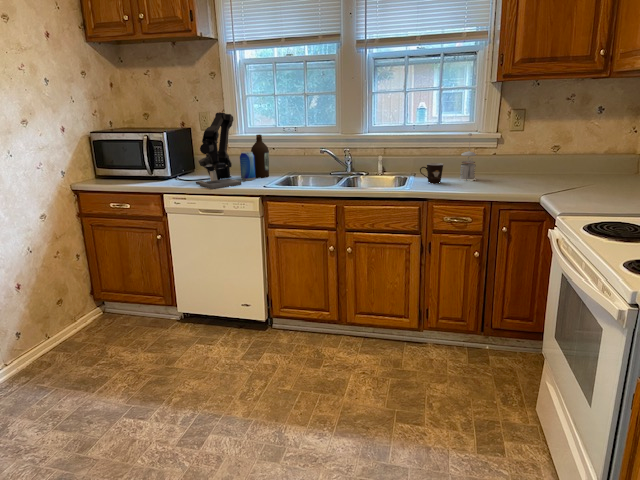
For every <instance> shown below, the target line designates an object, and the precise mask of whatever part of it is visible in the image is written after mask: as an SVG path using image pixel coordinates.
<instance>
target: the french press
mask: <svg viewBox="0 0 640 480" xmlns="http://www.w3.org/2000/svg"><path fill="white" fill-rule="evenodd" d="M467 136H469V137H471V136H473V134H472V133H468V135H467ZM468 143H469V144H468V145H469V147H468V149H471V148H470V146H471V140H469V142H468ZM460 156H462V157H467V159H468V160H462V161H461V163H462V164H460V171H459V173H460V176H459V178H460V179H466V180H467V179H474V178H475V179H476V164H475V163H476V161H474V160H473V158H471V159H470V157H475V156H477V154H476V153H475V152H473V151H470V150H468V151H465V152H462V153H461V154H460Z"/></svg>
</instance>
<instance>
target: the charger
mask: <svg viewBox="0 0 640 480" xmlns="http://www.w3.org/2000/svg"><path fill="white" fill-rule="evenodd" d="M209 179H210V180H209V181H214V180H218V179H217V175H216V171H215V170H214V171H210V176H209Z"/></svg>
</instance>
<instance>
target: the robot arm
mask: <svg viewBox="0 0 640 480" xmlns="http://www.w3.org/2000/svg"><path fill="white" fill-rule="evenodd" d="M233 122H234V115H232V114H231V113H225V112H216V113H215V117H214V118H213V120H212V122H211V124H210V126H209V127H207V128H206V129H204V132H203V134H202V140H201V143H202V144H201V145H200V147H199V151H200V153H201V154H203V155H205V157H203V158H201V159H200V160H198V164H199V166H200V167H203V168H204V169H205V170H207V171H206V172H207V173H208V176H209V177H210V171H216V175H217V179H218V180H221V179H228V178H229V179H230V178H232V177H233V176H232V175H231V171H230V168H232V165H233V164H232V162H231V159H230V155H229V154H228V144H229V132H230V128H231V127H232V126H233ZM219 130H220V134H219ZM218 139H219V142H218Z"/></svg>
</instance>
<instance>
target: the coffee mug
mask: <svg viewBox="0 0 640 480" xmlns="http://www.w3.org/2000/svg"><path fill="white" fill-rule="evenodd" d="M423 169H425V170H426V171H427V175H426V174H424V173H423V172H422V170H423ZM443 169H444V163H443V162H442V163H440V162H429V163H426V166H421V167H420V168H419V172H420V174H421V175H423V176H424V177H425V178H427V183H428V182H430V183H439V182H440V183H441V180H442V174H443ZM430 183H429V184H430ZM440 183H439V184H440Z"/></svg>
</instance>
